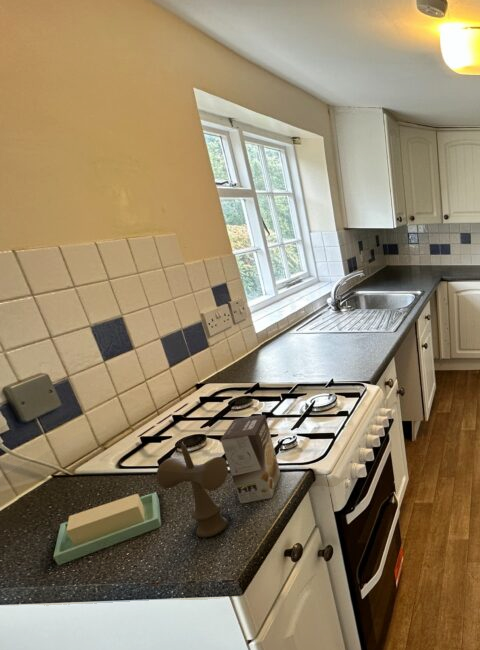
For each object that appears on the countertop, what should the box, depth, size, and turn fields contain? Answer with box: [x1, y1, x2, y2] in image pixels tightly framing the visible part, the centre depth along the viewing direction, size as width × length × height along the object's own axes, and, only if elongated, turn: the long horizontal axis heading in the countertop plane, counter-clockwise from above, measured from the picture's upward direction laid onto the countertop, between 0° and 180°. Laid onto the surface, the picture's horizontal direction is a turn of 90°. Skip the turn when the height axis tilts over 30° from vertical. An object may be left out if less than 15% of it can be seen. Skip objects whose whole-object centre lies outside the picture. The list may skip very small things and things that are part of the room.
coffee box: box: [219, 414, 281, 504], centre depth 89 cm, size 9×6×16 cm
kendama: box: [156, 442, 229, 538], centre depth 77 cm, size 6×10×20 cm, turn 88°
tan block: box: [66, 493, 145, 547], centre depth 80 cm, size 10×5×4 cm, turn 131°
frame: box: [53, 491, 162, 566], centre depth 80 cm, size 14×10×2 cm
